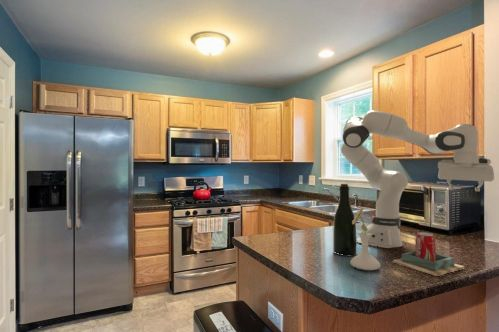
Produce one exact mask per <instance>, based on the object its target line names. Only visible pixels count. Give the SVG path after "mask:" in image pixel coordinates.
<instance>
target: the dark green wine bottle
mask: <svg viewBox="0 0 499 332" xmlns="http://www.w3.org/2000/svg"><path fill="white" fill-rule="evenodd" d="M338 190H339V201H338V206H337V209H336V211H335V214H334V218H333V241H332V242H333V243H332V244H333V245H332V247H333V249H332V250H333V253H334V252H336V253H339V254H343V255H353V256H355V255H357V252H358V251H357V248H358V246H357V244H358V243H357V222H356V223H355V224H352V223H353V222H352V221H353V220H354V219H355V218H354V217H355V216H356V215H355V213H354V211H353V209H352V206H351V203H350V202H351V201H350V187H349V183H341V184H340V186H339V189H338ZM336 253H335V254H336ZM354 254H355V255H354Z"/></svg>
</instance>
